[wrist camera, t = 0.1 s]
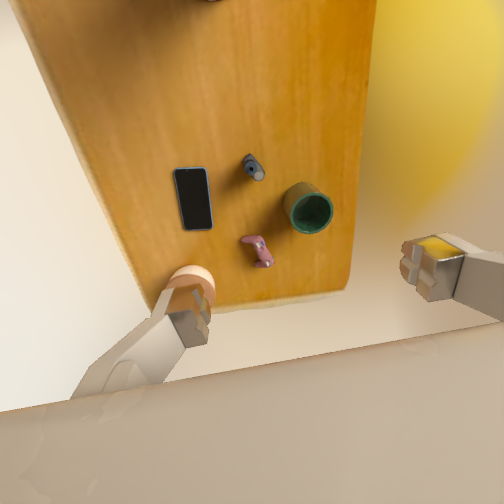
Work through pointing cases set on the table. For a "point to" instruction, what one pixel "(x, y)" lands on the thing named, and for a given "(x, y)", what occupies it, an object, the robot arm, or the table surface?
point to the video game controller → (259, 250)
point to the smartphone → (194, 197)
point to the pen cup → (307, 208)
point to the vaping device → (253, 168)
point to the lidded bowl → (194, 280)
